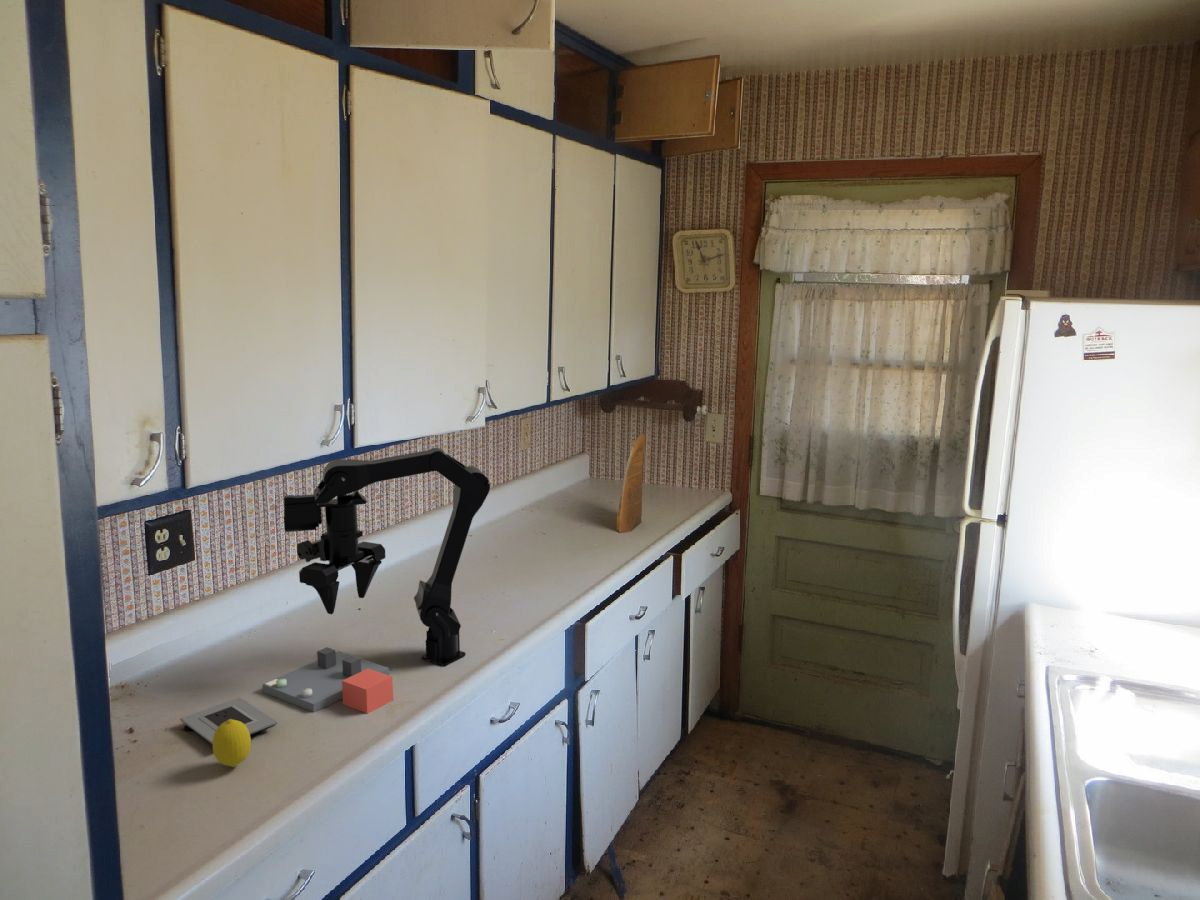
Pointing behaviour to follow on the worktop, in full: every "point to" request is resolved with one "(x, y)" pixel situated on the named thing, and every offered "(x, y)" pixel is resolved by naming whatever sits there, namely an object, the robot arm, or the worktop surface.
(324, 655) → the dark gray block
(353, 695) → the cap
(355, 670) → the dark grey small block
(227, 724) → the lemon
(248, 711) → the electrical outlet
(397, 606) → the worktop surface
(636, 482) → the wooden fin shape
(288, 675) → the panel
